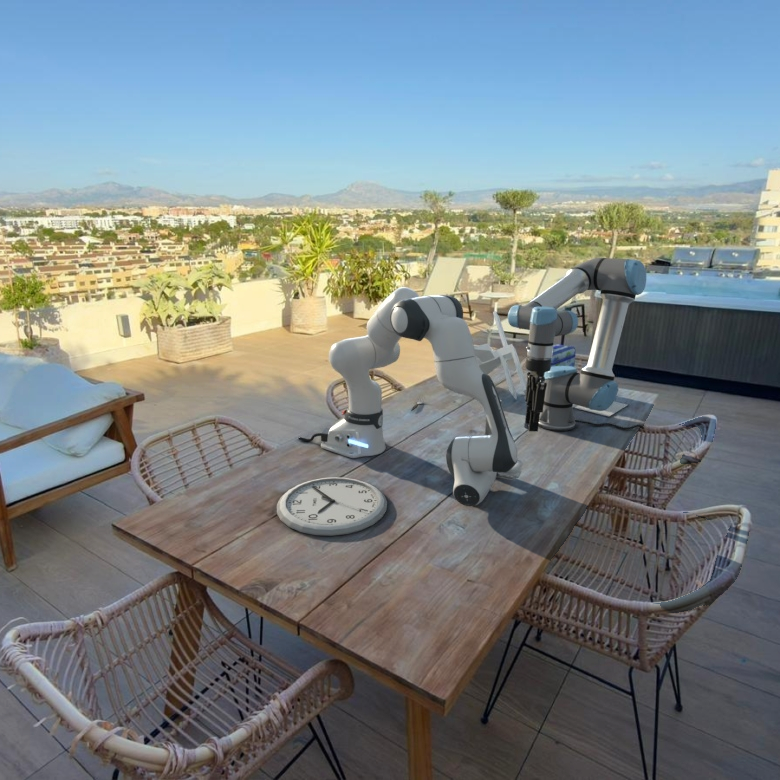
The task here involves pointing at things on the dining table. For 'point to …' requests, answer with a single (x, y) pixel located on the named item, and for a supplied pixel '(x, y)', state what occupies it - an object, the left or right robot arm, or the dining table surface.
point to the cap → (527, 424)
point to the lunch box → (563, 356)
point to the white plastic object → (500, 358)
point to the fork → (418, 403)
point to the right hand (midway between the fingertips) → (531, 428)
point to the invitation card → (608, 412)
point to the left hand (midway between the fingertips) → (492, 453)
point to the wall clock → (331, 506)
